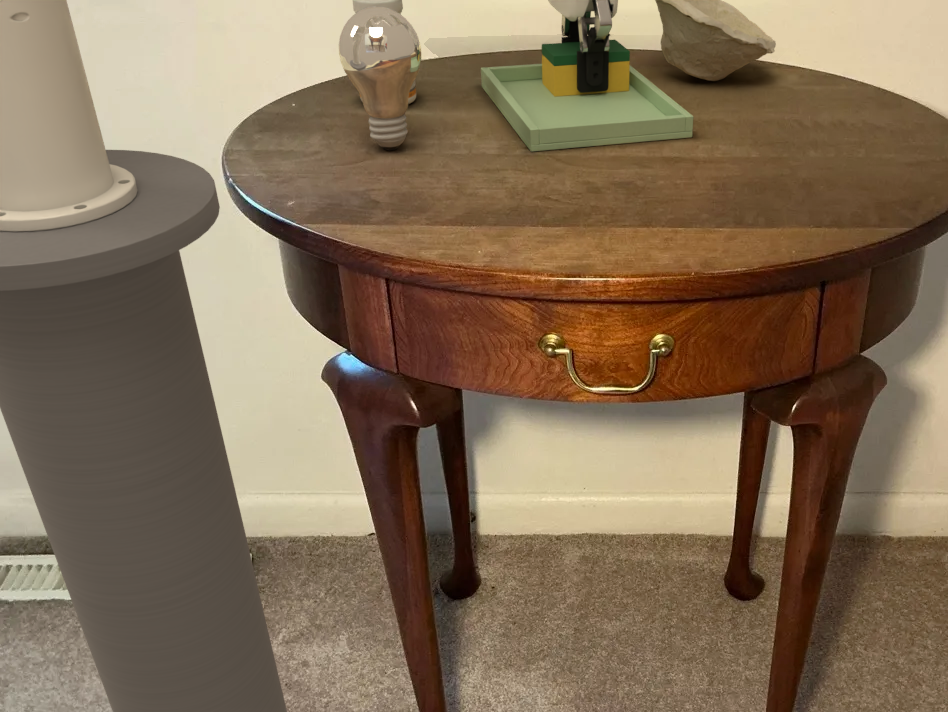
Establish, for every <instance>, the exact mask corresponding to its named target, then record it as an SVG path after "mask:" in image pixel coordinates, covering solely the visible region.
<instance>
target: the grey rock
mask: <svg viewBox="0 0 948 712" xmlns="http://www.w3.org/2000/svg"><path fill="white" fill-rule="evenodd" d="M654 1H655V3H656V6H657V11H658V12H659V18H660V21H661V24H662V34H661V39H660V49H661V52H662V55H663V57H664V59H665V61H667V63H668V64H670V65H672V66H673V67H675V68H676V69H679V70H681V71H682V72H684V73H685V74H687V75H689V76H692V77H694V78H698V79H701V80H706V81H710V82H716V81H720V80H723V79H725V78H726V77H727V76H729V75H730V74H733V73H735V72H736V71H737V70H740V69H741V68H742V67H745V66H747V65H749V64H750V63H751V62H754V61H756V60H757V61H758V60H759V59H760V58H762V57H764V56H766V55H767V54H773V53H775V52H776V50H775V48H776V46H777V44H776V40H775V39H773V37H771V36H770V35H768V34H767V33H766V32H765V31H764V30H763V29H762V28H761V27H760V26H759V25H758V24H756V23H755V22H753V21H752V20H750V19H749V18H748V17H747V16H746V15H745V14H744V13H742V11H740V10H739V9H738V8H737V7H735V6H733V5H732V4H731V3H728V2H727V1H725V0H654Z"/></svg>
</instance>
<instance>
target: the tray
mask: <svg viewBox="0 0 948 712" xmlns="http://www.w3.org/2000/svg"><path fill="white" fill-rule="evenodd" d="M480 81H481V89H483V91H485V93H486V94H487V96H488V97H489V99H491V101H492V102H493V103H494V105H495V106H496V108H497V109H498V110H499V112H501V114H502V115H503V117H504V118H505V120H506V121H507V122H508V124H509V125H510V126H511V127H512V129H513V130H514V131H515V133H516V134H517V135H518V137H519V138H520V139H521V141H522V142H523V143H524V144H525V146H526V147H527V148H528V150H529V151H530V152H531V153H532V152H542V151H543V152H544V151H556V150H565V149H566V150H567V149H576V148H577V149H578V148H587V147H589V148H590V147H599V146H610V145H611V146H612V145H620V144H621V145H622V144H632V143H633V144H634V143H643V142H645V143H646V142H655V141H656V142H657V141H666V140H678V139H688V138H689V139H690V138H693V130H694V115H693V114H692V113H690V112H689V111H687V110H686V109H685V108H684V107H683V106H681V104H679V103H677V101H675V100H674V99H673V98H671V97H670V96H669V95H668V94H666V93H665V92H664V91H663V90H661V89H660V88H659V87H658V86H657V85H655V83H653V82H652V81H651V80H649V79H648V78H647V77H646V76H644V75H643V74H641V73H640V72H639V71H638V70H637V69H635V68H634V67H633V66H632V65H630V68H629V91H622V92H609V93H596V94H583V95H570V96H557V97H554V95H553V94H552V93H551V92H550V91H549V90H548V89H547V88H546V87H545V86H544V85H543V83H542V63H533V64H532V63H531V64H517V65H503V66H502V65H501V66H500V65H499V66H489V67H488V66H485V67H480Z"/></svg>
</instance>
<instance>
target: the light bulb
mask: <svg viewBox="0 0 948 712" xmlns="http://www.w3.org/2000/svg"><path fill="white" fill-rule="evenodd" d="M338 57H339V61H340V64H341V66H342V69H343V71H344V73H345V75H346V77H348V79H349V80H350V82H351V83H352V84H353V86H354V87H355V89H356V90H357V91H358V93H360V94H359V96H360V95H361V98H362V101H361V103H362V105H363V109H364V111H365V112H366V114H367V115H368V116H369V118H368V124H369V126H368V129H369V131H370V133H369V136H370V137H369V138H371V139H372V140H373V141H374V142H375V143H376V144H377V145H379V146H380V147H381V148H382V149H383V150H385V151H395V150H397V149H398V147H399V146H401V144H402V143H403V142H404V141H405V140H406V139H407V134H408V129H407V127H408V123H407V122H406V121H407V116H406V112H407V110H408V107H409V104H408V97H409V92H410V88H411V86H412V84H413V82H414V80H415V81H416V78H417V76H418V73H419V71H420V68H421V64H422V63H421V62H422V45H421V41H420V39H419V36H418V33H417V32H416V30H415V28H414V26H413V24H411V23H410V22H409V20H408V19H407V18H406V17H404V16H403V15H402V14H401V15H400V14H399V13H397V12H395V11H393V10H392V9H389V8H385V7H369V8H365V9H362V10H360V11H359V12H357V13H354V14H353V15H352V16H351V17H350V18H349V19H348V20H347V21H346V22H345V24H344V25H343V28H342V29H341V33H340V35H339V40H338Z"/></svg>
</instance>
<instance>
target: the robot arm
mask: <svg viewBox="0 0 948 712" xmlns="http://www.w3.org/2000/svg"><path fill="white" fill-rule="evenodd" d="M547 1H548V3H549V5H550V6H552V8H553V9H555V10H556V11H557V12H558V13H559V14H561V26H560V28H561V35H562V37H561V43H568V42H580V50H581V51H577V90H578V91H579V92H580V93H587V92H600V91H606V90H608V83H609V47H610V46H609V40H610V36H611V33H610V32H611V30H612V29H613V18H614V17H615V16H616V14H617V13H618V7H619V5H618V4H619V0H547ZM592 12H593V13H594V16H592ZM592 25H593V26H592ZM81 54H82V53H81V51H80V47H79V43H78V39H77V35H76V32H75V26H74V24H73V19H72V16H71V11H70V7H69V5H68V1H67V0H0V231H3V232H34V231H44V230H53V229H59V228H65V227H71V226H75V225H79V224H84V223H87V222H91V221H94V220H97V219H100V218H103V217H105V216H108V215H110V214H113V213H115V212H117V211H119V210H120V209H122V208H124V207H125V206H127V205H128V204H129V203H131V201H132V200H133V199H134V198H135V197H136V194H137V191H138V190H137V186H136V181H135V178H134V176H133V175H132V173H130V172H129V171H127V170H126V169H124V168H121V167H119V166H116V165H111V164H109V161H108V157H107V153H106V150H107V149H106V146H105V142H104V138H103V135H102V132H101V127H100V123H99V119H98V116H97V115H98V114H97V112H96V108H95V104H94V100H93V96H92V93H91V89H90V85H89V81H88V76H87V73H86V70H85V65H84V61H83V58H82V55H81Z"/></svg>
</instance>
